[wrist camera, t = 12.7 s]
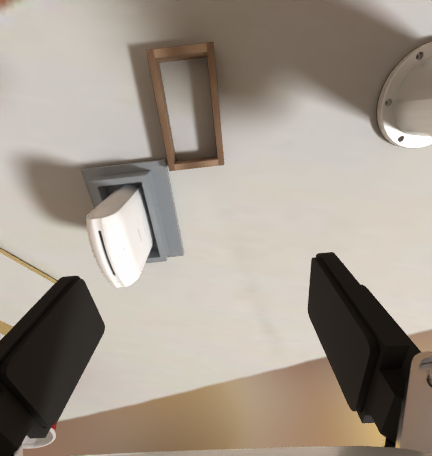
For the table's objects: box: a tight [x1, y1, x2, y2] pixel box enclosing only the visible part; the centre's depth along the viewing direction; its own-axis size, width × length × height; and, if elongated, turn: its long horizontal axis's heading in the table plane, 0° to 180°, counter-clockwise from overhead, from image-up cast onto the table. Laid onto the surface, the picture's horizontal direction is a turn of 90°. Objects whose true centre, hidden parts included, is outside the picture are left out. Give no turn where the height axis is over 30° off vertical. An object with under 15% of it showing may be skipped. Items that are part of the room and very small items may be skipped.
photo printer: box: [86, 184, 154, 288], centre depth 31 cm, size 10×4×12 cm, turn 6°
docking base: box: [81, 159, 184, 263], centre depth 35 cm, size 12×16×4 cm
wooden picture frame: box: [146, 42, 224, 171], centre depth 30 cm, size 8×14×2 cm, turn 6°
